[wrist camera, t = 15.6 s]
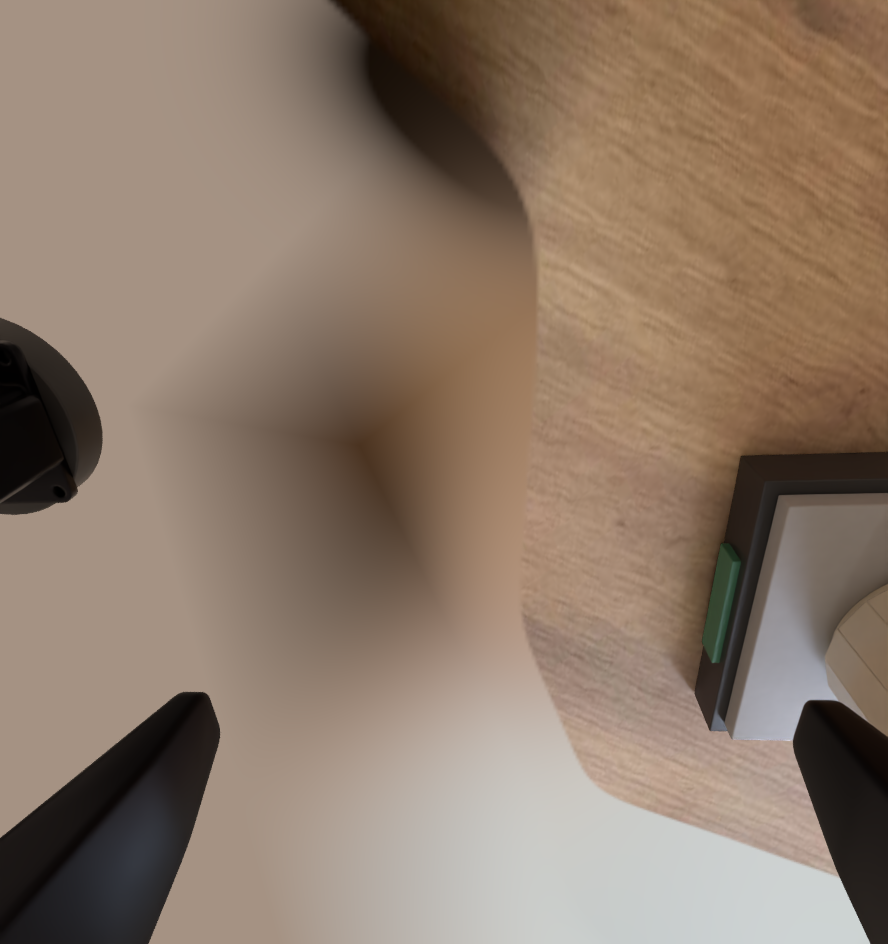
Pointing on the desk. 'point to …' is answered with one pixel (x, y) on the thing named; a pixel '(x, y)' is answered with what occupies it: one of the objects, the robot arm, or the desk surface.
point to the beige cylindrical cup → (862, 659)
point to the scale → (789, 585)
